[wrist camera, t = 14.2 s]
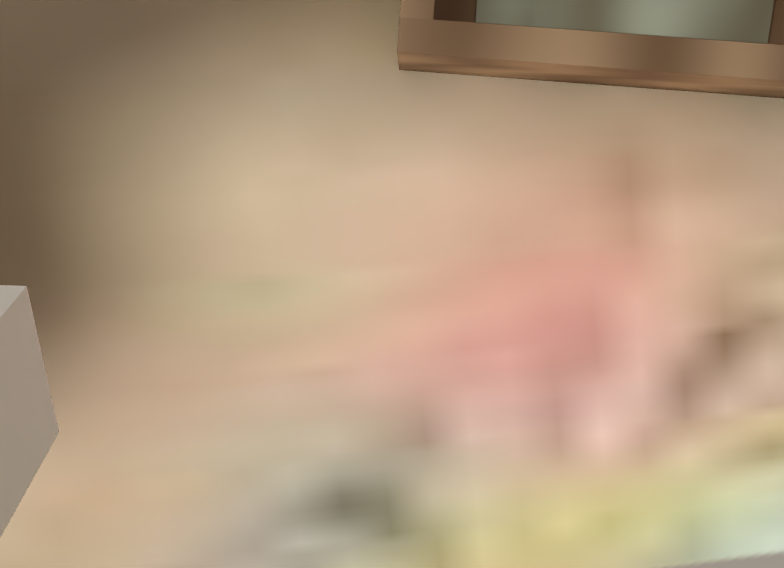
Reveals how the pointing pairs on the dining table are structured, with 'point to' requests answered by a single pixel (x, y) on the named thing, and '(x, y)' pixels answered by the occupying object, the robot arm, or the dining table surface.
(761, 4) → the crate
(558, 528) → the dining table surface
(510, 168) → the dining table surface
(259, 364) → the dining table surface
